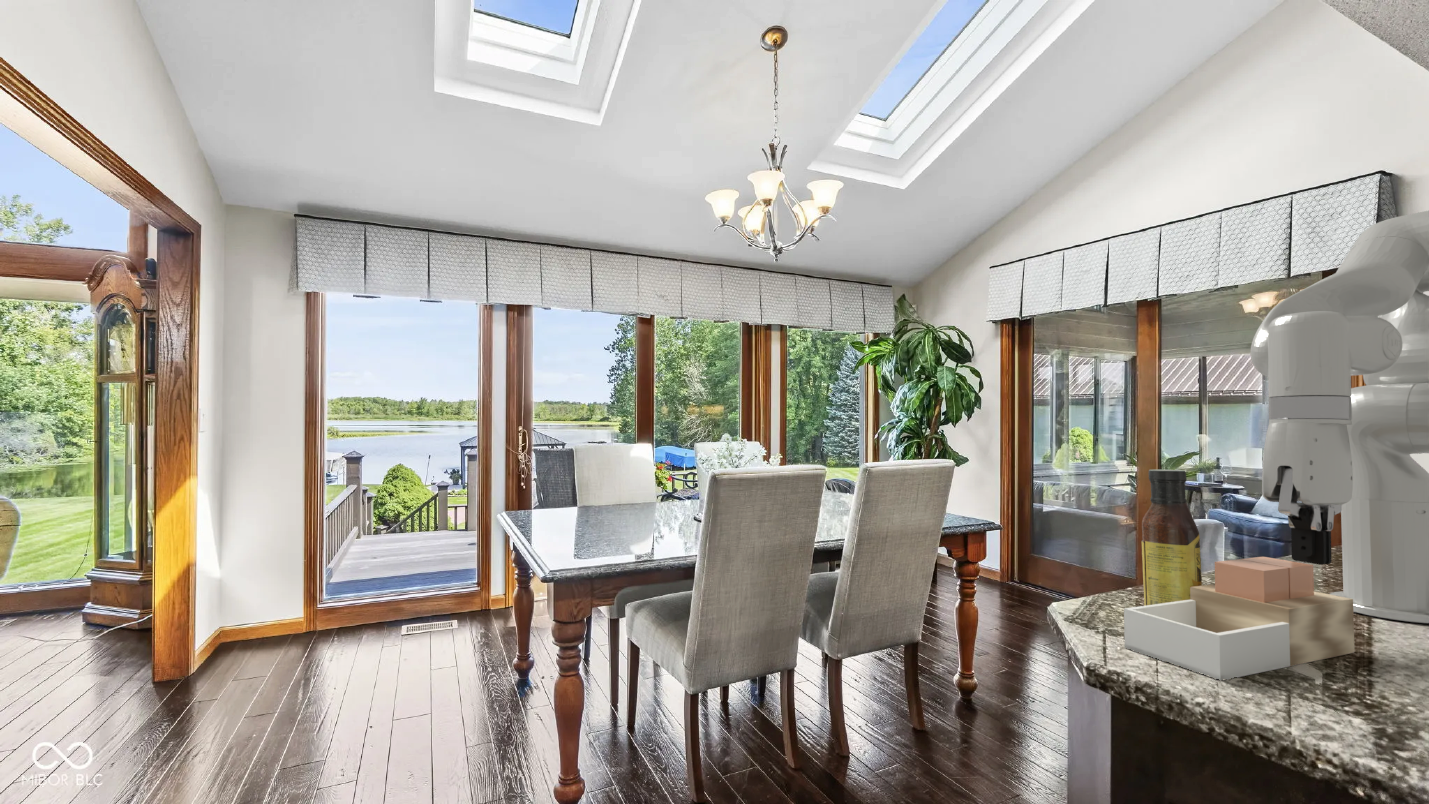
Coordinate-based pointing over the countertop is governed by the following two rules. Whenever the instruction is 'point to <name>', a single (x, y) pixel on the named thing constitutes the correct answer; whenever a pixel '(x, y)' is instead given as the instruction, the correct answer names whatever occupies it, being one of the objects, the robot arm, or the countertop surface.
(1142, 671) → the countertop surface
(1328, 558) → the robot arm
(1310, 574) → the block
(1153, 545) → the sauce bottle
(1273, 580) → the block
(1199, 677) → the countertop surface
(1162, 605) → the box
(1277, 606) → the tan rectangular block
